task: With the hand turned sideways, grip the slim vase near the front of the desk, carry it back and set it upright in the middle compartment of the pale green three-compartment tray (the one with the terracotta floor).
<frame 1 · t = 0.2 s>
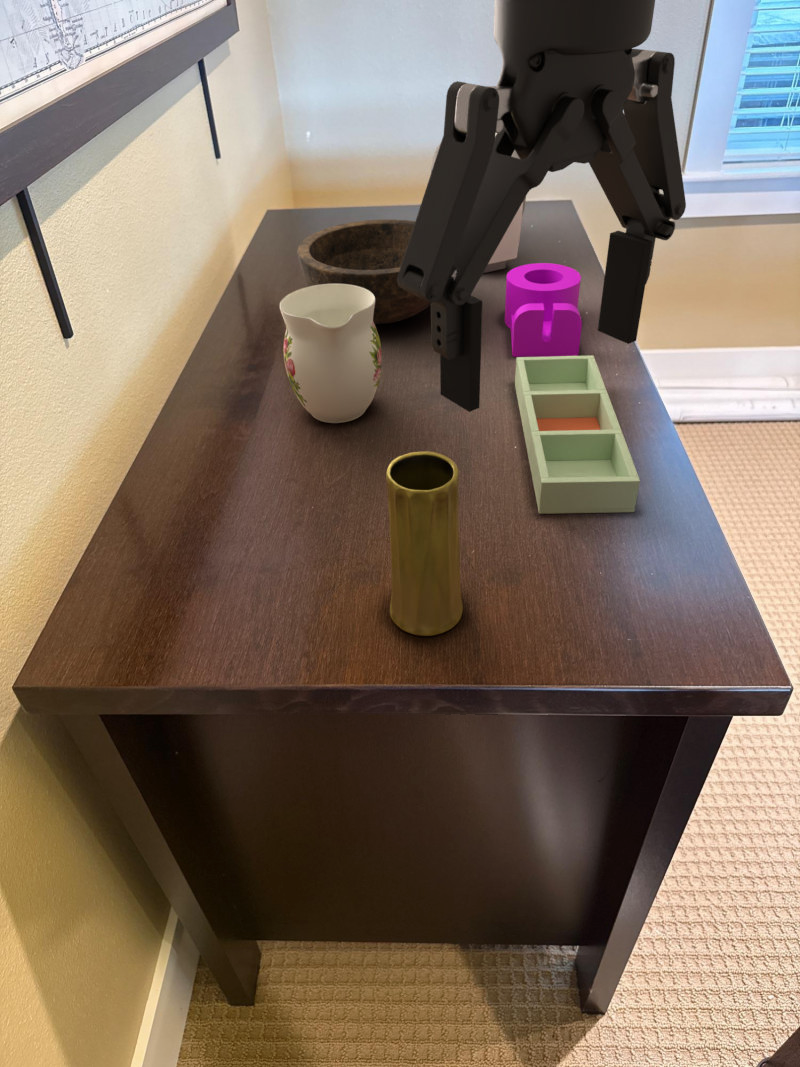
hand: (542, 367, 49), 23 cm above the table, tool pointing down, fingers open, 13 cm apart
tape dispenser: (541, 331, 106), on the table
alarm clock: (475, 262, 127), on the table
pitcher: (337, 406, 92), on the table
bowl: (380, 315, 112), on the table
tray: (567, 440, 84), on the table
vase: (426, 612, 65), on the table
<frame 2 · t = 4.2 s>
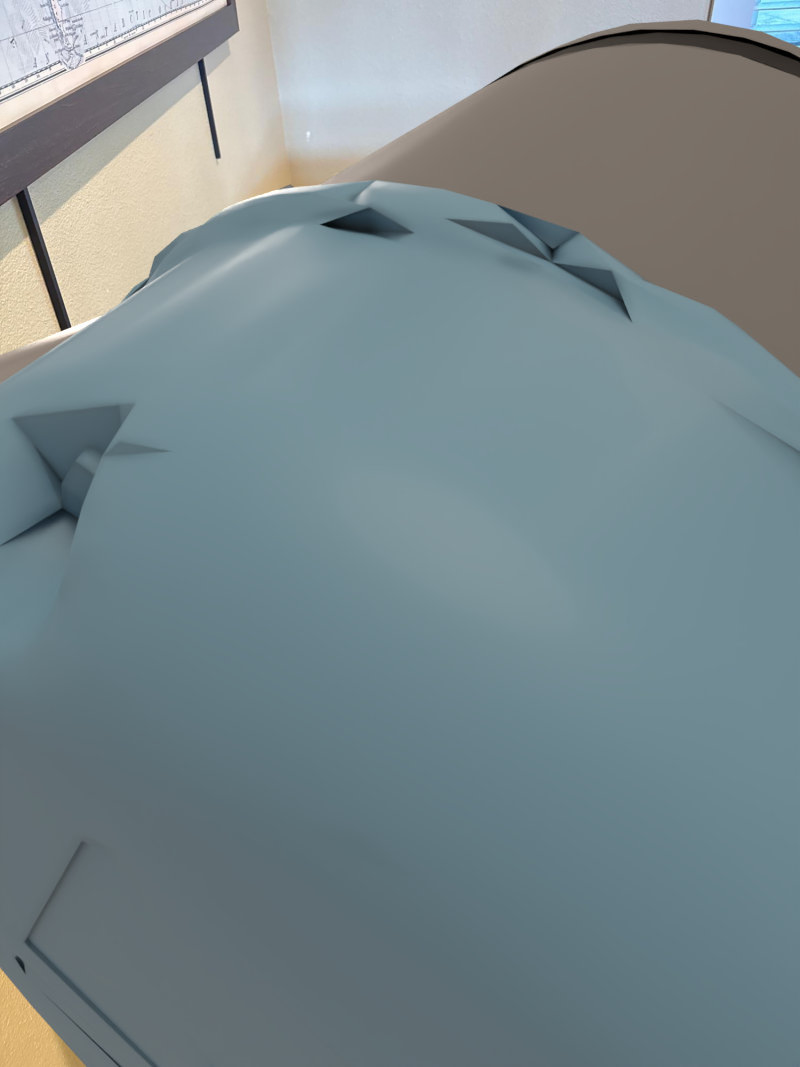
hand: (319, 532, 52), 13 cm above the table, tool horizontal, fingers open, 13 cm apart
nothing on the table moved.
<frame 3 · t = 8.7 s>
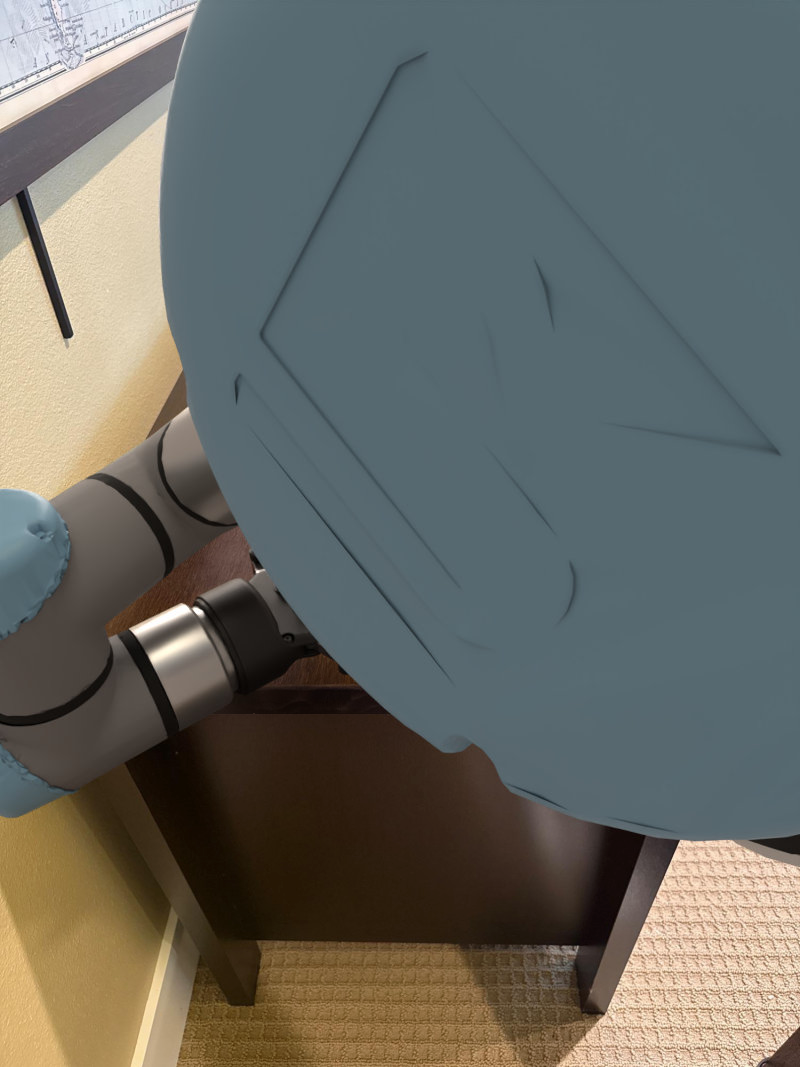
hand: (474, 516, 62), 7 cm above the table, tool horizontal, fingers closed on vase, 5 cm apart
vase: (426, 612, 65), on the table, touching gripper
everything else where it was.
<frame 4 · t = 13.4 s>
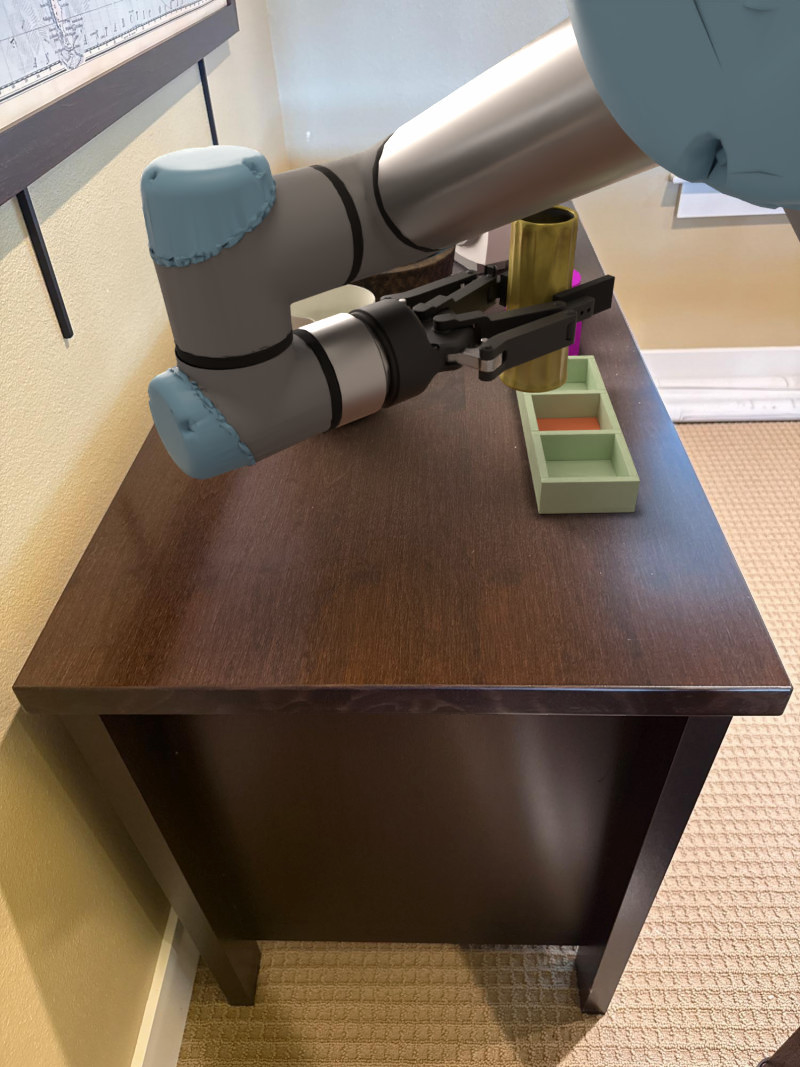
hand: (581, 281, 67), 20 cm above the table, tool horizontal, fingers closed on vase, 5 cm apart
vase: (532, 379, 70), point 12 cm above the table, touching gripper
everything else where it was.
when the fingers open (8 cm above the table, at t = 18.2 s): vase stays where it is, resting on tray.
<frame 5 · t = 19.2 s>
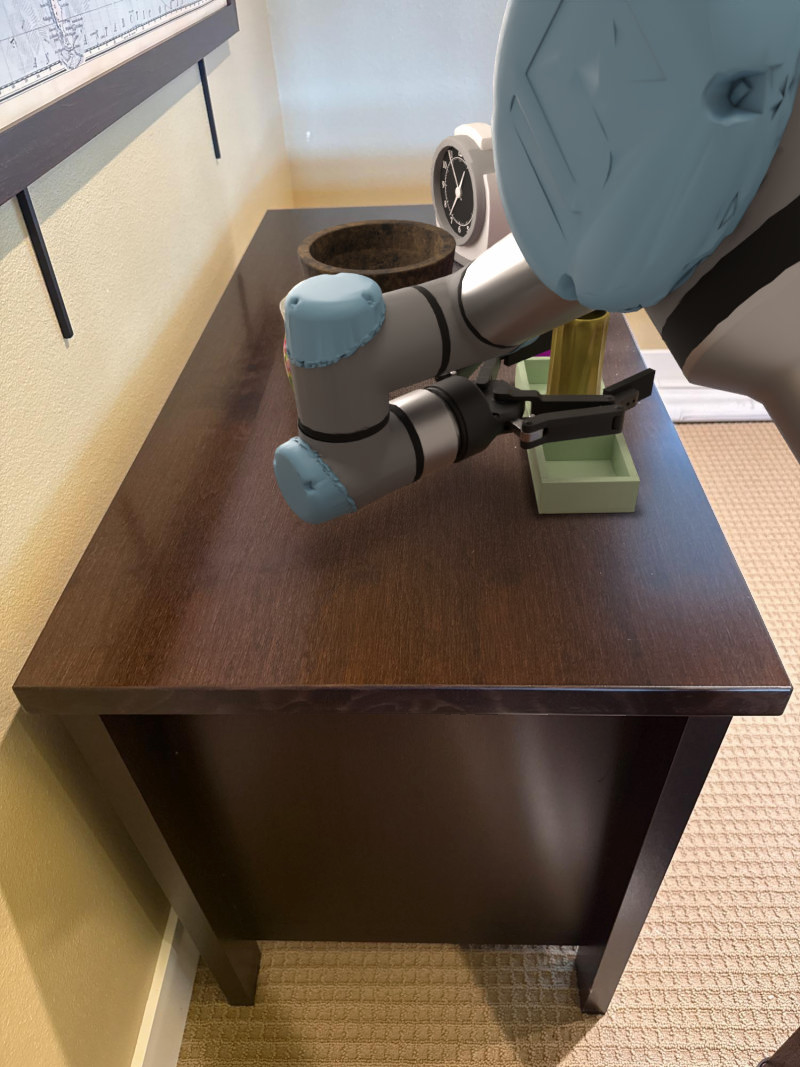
hand: (598, 357, 80), 9 cm above the table, tool horizontal, fingers open, 13 cm apart
vase: (567, 436, 84), point 1 cm above the table, touching tray
everything else where it was.
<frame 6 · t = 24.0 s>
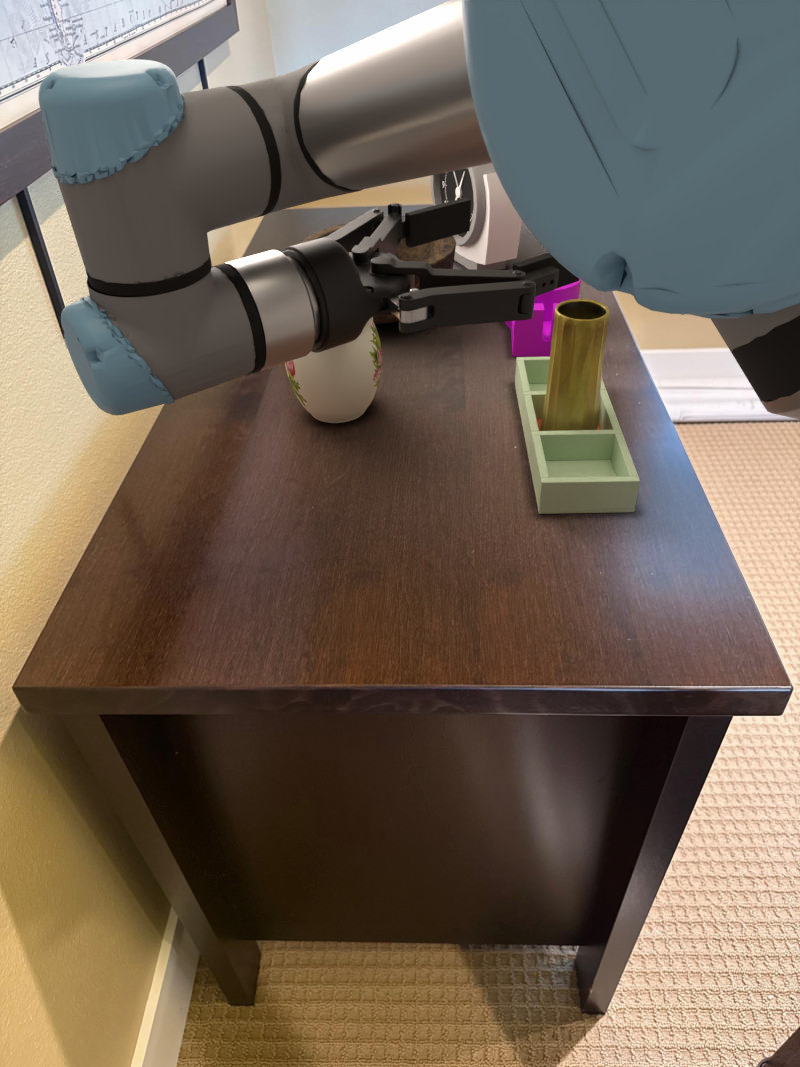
hand: (519, 236, 64), 24 cm above the table, tool horizontal, fingers open, 13 cm apart
nothing on the table moved.
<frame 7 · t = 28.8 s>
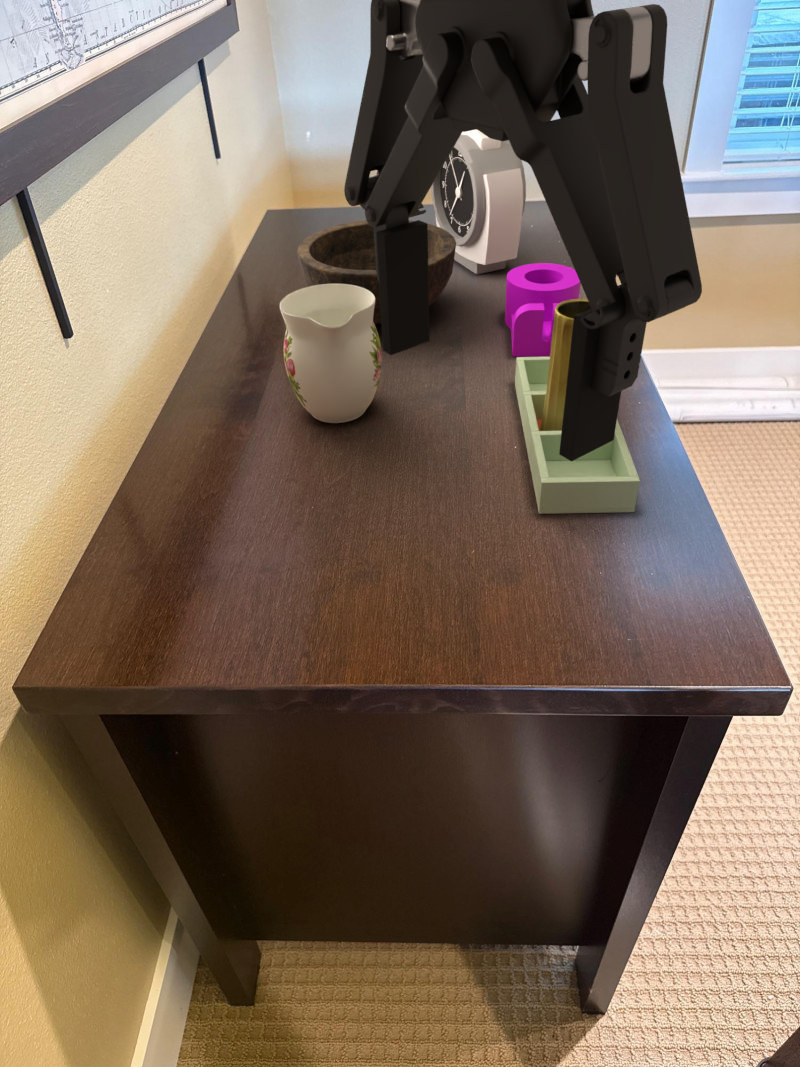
hand: (486, 391, 39), 27 cm above the table, tool pointing down, fingers open, 13 cm apart
nothing on the table moved.
at the end: vase 0.0 cm off-centre in the tray, point 0.5 cm above the tray's base; vase tilted 0°; the gripper is holding nothing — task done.
